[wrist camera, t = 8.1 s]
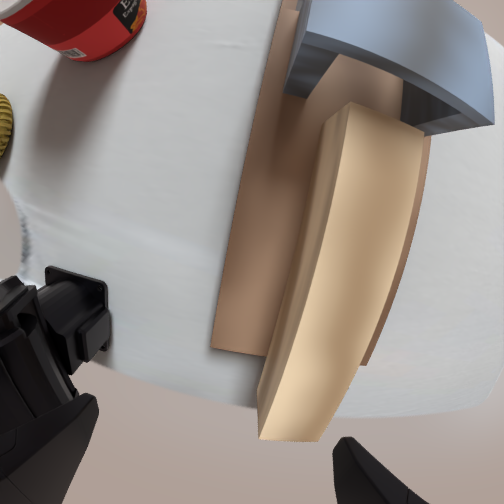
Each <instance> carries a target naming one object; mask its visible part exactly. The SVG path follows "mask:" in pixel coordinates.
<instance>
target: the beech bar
mask: <svg viewBox="0 0 504 504" xmlns="http://www.w3.org/2000/svg"><path fill="white" fill-rule="evenodd" d="M423 141H424V132H423V131H421V130H419V129H417V128H414V127H412V126H410V125H408V124H406V123H404V122H401V121H399V120H397V119H395V118H392V117H390V116H387V115H385V114H383V113H380V112H378V111H375V110H373V109H370V108H367V107H365V106H362V105H359V104H356V103H353V102H349V103H348V104H347V105H345V106H344V107H343V108H342V109H340V110H339V111H338V112H337V113H335V114H334V115H333V116H331V117H330V118H329V119H328V120H326V121H325V122H324V123H323V124H322V126H321V131H320V137H319V142H318V147H317V152H316V157H315V162H314V167H313V172H312V177H311V182H310V186H309V191H308V196H307V200H306V205H305V209H304V214H303V218H302V223H301V227H300V231H299V235H298V240H297V244H296V248H295V252H294V256H293V260H292V264H291V269H290V273H289V276H288V280H287V284H286V288H285V292H284V296H283V300H282V304H281V307H280V311H279V315H278V318H277V322H276V326H275V329H274V333H273V337H272V340H271V344H270V347H269V351H268V354H267V358H266V361H265V365H264V368H263V371H262V375H261V378H260V381H259V385H258V388H257V411H258V438H259V439H260V440H261V439H262V440H274V441H294V442H295V441H296V442H318V441H319V439H320V437H321V436H322V434H323V433H324V431H325V429H326V428H327V426H328V424H329V422H330V421H331V419H332V417H333V416H334V414H335V412H336V410H337V408H338V407H339V405H340V403H341V401H342V399H343V397H344V395H345V393H346V392H347V390H348V388H349V386H350V384H351V382H352V380H353V378H354V376H355V374H356V371H357V369H358V367H359V365H360V363H361V361H362V359H363V356H364V354H365V352H366V350H367V347H368V345H369V343H370V340H371V338H372V336H373V333H374V331H375V328H376V326H377V323H378V321H379V318H380V315H381V313H382V310H383V307H384V305H385V302H386V299H387V296H388V293H389V290H390V288H391V285H392V281H393V278H394V275H395V272H396V269H397V266H398V262H399V259H400V255H401V252H402V248H403V245H404V241H405V237H406V233H407V229H408V225H409V221H410V217H411V212H412V208H413V203H414V198H415V193H416V188H417V182H418V176H419V170H420V164H421V157H422V149H423Z"/></svg>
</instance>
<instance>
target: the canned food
mask: <svg viewBox="0 0 504 504" xmlns="http://www.w3.org/2000/svg"><path fill="white" fill-rule="evenodd" d="M146 14H147V7H146V0H0V21H1V22H3V23H5V24H7V25H9V26H11V27H13V28H15V29H17V30H19V31H21V32H23V33H25V34H26V35H28V36H30V37H32V38H34V39H36V40H38V41H40V42H41V43H43V44H45V45H47V46H49V47H50V48H52V49H54V50H56V51H57V52H59V53H61V54H63V55H64V56H66V57H68V58H70V59H72V60H74V61H84V62H89V61H95V60H99V59H102V58H104V57H106V56H109V55H110V54H112V53H114V52H116V51H117V50H119V49H120V48H121V47H123V46H124V45H125V44H126V43H128V42H129V41H130V40H131V39H132V38H133V37H134V36H135V35H136V34H137V32H138V31H139V29H140V28H141V27H142V25H143V23H144V21H145V18H146Z"/></svg>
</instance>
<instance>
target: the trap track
mask: <svg viewBox="0 0 504 504" xmlns="http://www.w3.org/2000/svg"><path fill="white" fill-rule="evenodd" d="M349 102H353V103H356V104H359V105H362V106H365V107H367V108H370V109H373V110H375V111H378V112H380V113H383V114H385V115H387V116H390V117H392V118H395V119H397V120H399V121H401V122H404V123H406V124H408V125H410V126H412V127H414V128H417V129H419V130H421V131H423V132H424V141H423V149H422V157H421V164H420V170H419V176H418V182H417V188H416V193H415V198H414V203H413V208H412V212H411V217H410V221H409V225H408V229H407V233H406V237H405V241H404V245H403V248H402V252H401V255H400V259H399V262H398V266H397V269H396V272H395V275H394V278H393V281H392V285H391V288H390V290H389V293H388V296H387V299H386V302H385V305H384V307H383V310H382V313H381V315H380V318H379V321H378V323H377V326H376V328H375V331H374V333H373V336H372V338H371V340H370V343H369V345H368V347H367V350H366V352H365V354H364V356H363V359H362V361H361V363H360V365H362V366H366V365H367V363H368V361H369V359H370V357H371V354H372V352H373V350H374V348H375V346H376V343H377V341H378V339H379V336H380V334H381V331H382V329H383V327H384V324H385V322H386V319H387V317H388V314H389V311H390V309H391V306H392V303H393V300H394V298H395V295H396V292H397V289H398V286H399V283H400V280H401V277H402V274H403V271H404V268H405V264H406V261H407V258H408V254H409V251H410V247H411V243H412V240H413V236H414V232H415V228H416V224H417V219H418V215H419V210H420V206H421V201H422V196H423V191H424V185H425V179H426V173H427V167H428V160H429V152H430V144H431V135H436V134H441V133H446V132H451V131H457V130H463V129H469V128H475V127H481V126H488V125H495V120H494V96H493V84H492V75H491V67H490V60H489V54H488V49H487V44H486V39H485V34H484V30H483V26H482V22H481V21H479V20H478V19H477V18H475V17H474V16H473V15H472V14H471V13H469V12H468V11H467V10H465V9H464V8H462V7H461V6H460V5H458V4H457V3H456V2H454V1H453V0H283V1H282V5H281V8H280V12H279V16H278V20H277V24H276V28H275V32H274V36H273V40H272V44H271V48H270V52H269V56H268V60H267V64H266V69H265V73H264V77H263V81H262V86H261V90H260V94H259V99H258V103H257V107H256V112H255V116H254V121H253V125H252V130H251V135H250V139H249V144H248V148H247V153H246V158H245V163H244V167H243V172H242V177H241V182H240V187H239V192H238V197H237V202H236V207H235V212H234V217H233V222H232V227H231V233H230V238H229V243H228V248H227V254H226V259H225V265H224V270H223V276H222V281H221V287H220V292H219V298H218V304H217V310H216V316H215V321H214V327H213V333H212V339H211V346H210V347H212V348H218V349H223V350H228V351H234V352H240V353H246V354H252V355H259V356H266V357H267V354H268V351H269V347H270V344H271V340H272V337H273V333H274V329H275V326H276V322H277V318H278V315H279V311H280V307H281V304H282V300H283V296H284V292H285V288H286V284H287V280H288V276H289V273H290V269H291V264H292V260H293V256H294V252H295V248H296V244H297V240H298V235H299V231H300V227H301V223H302V218H303V214H304V209H305V205H306V200H307V196H308V191H309V186H310V182H311V177H312V172H313V167H314V162H315V157H316V152H317V147H318V142H319V137H320V131H321V126H322V124H323V123H324V122H325V121H326V120H328V119H329V118H330V117H331V116H333V115H334V114H335V113H337V112H338V111H339V110H340V109H342V108H343V107H344V106H345V105H347V104H348V103H349Z"/></svg>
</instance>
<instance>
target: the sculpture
mask: <svg viewBox="0 0 504 504" xmlns="http://www.w3.org/2000/svg"><path fill="white" fill-rule="evenodd" d="M12 118H13V115H12V108H11V104H10V102H9V100H8V99H7V98H6V96H4V95H3V94H0V158H1V157H2V155H3V153H4V151H5V149H6V146H7V143H8V141H9V137H8V136H5V135H11V132H10V131H11V129H12V122H13V120H12Z"/></svg>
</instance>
